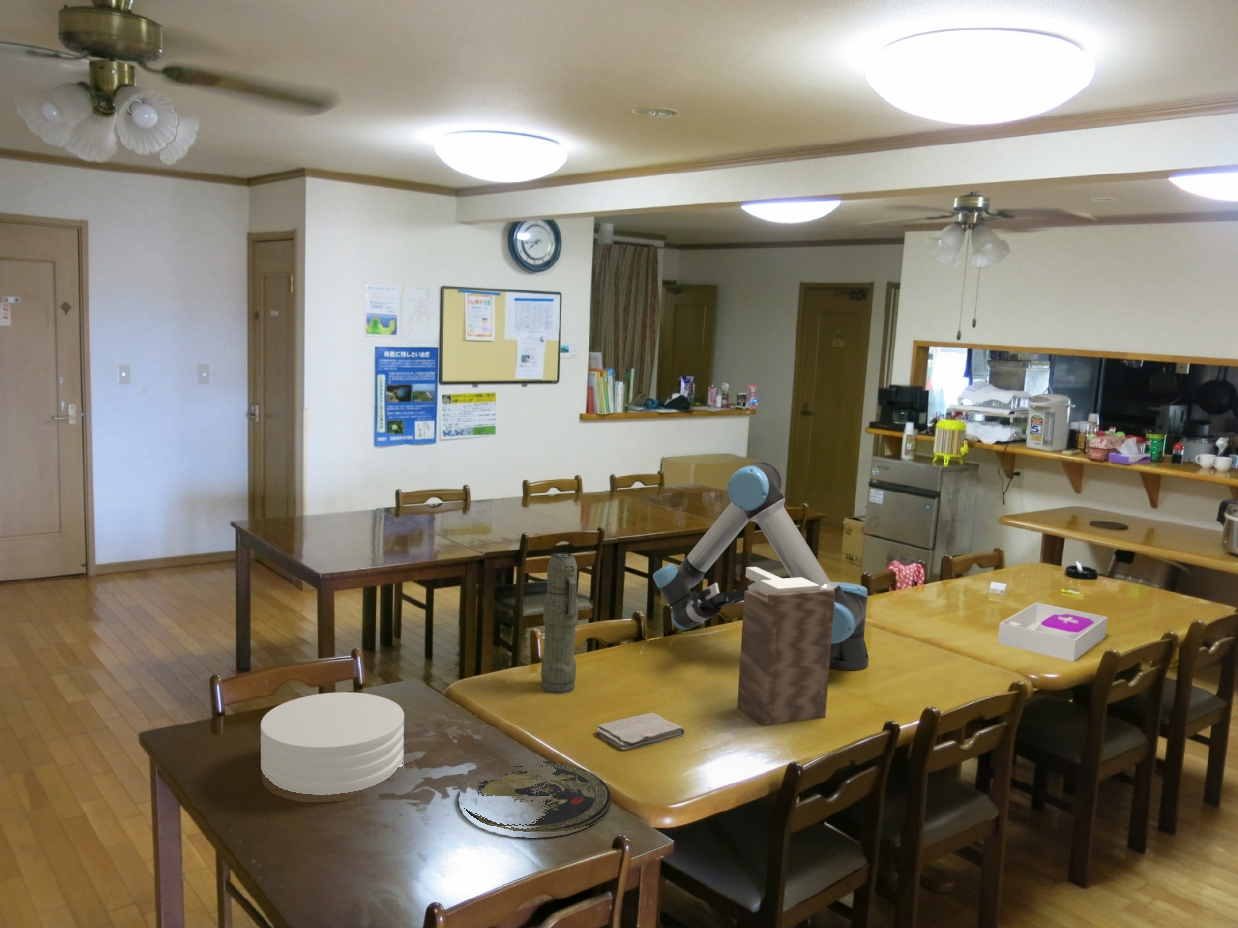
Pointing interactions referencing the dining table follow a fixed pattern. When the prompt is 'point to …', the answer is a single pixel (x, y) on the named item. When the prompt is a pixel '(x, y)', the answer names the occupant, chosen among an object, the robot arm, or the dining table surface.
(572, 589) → the thermos
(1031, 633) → the white open tray
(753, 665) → the walnut stand
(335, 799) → the dining table surface
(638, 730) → the washcloth
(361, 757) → the plate stack
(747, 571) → the beige stepped block
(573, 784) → the decorative plate
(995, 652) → the dining table surface
